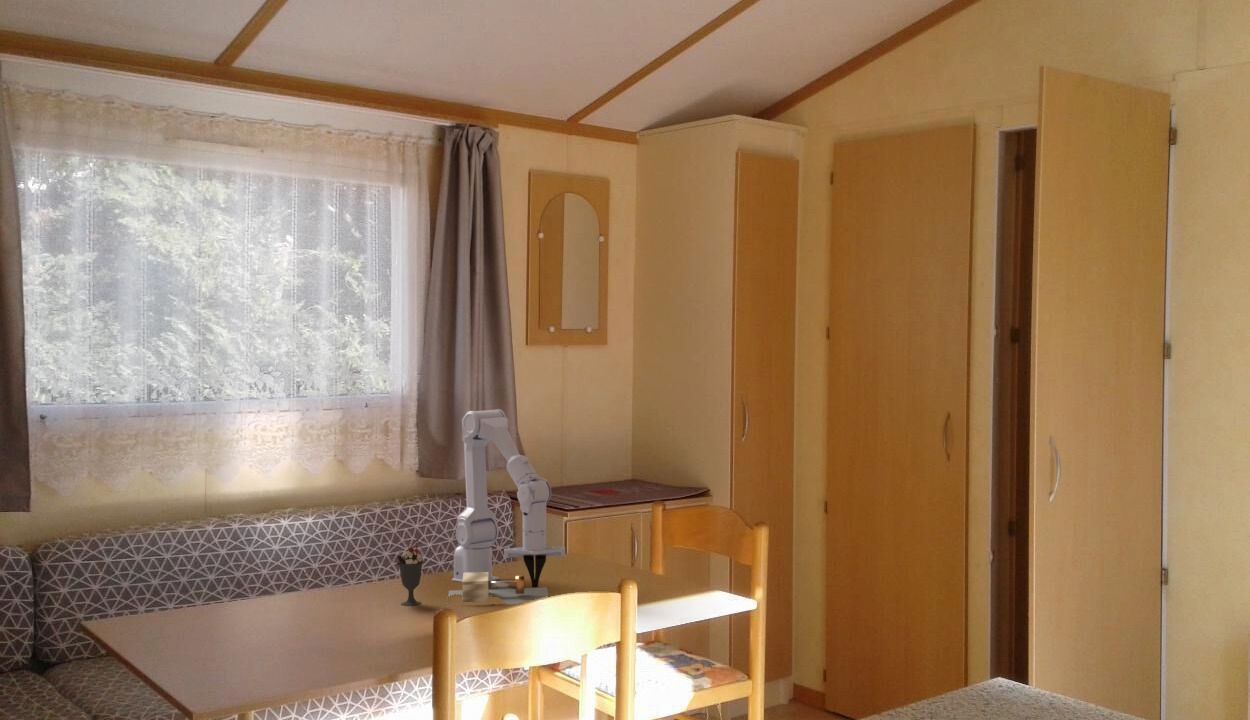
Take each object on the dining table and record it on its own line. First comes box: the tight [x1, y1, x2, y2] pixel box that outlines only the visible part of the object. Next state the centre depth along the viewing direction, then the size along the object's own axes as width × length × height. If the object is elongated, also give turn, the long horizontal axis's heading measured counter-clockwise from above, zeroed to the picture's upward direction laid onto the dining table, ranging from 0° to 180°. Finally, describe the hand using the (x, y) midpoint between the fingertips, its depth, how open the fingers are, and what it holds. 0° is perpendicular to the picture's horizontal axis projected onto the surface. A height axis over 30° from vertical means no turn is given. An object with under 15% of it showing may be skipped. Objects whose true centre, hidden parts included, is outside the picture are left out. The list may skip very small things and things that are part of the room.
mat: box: [445, 587, 549, 608], centre depth 270 cm, size 24×16×1 cm, turn 96°
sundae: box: [395, 539, 426, 607], centre depth 264 cm, size 7×7×15 cm
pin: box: [488, 574, 525, 594], centre depth 270 cm, size 10×4×4 cm, turn 96°
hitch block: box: [461, 572, 489, 602], centre depth 269 cm, size 6×10×5 cm, turn 6°
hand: (534, 586), depth 271 cm, fingers closed
